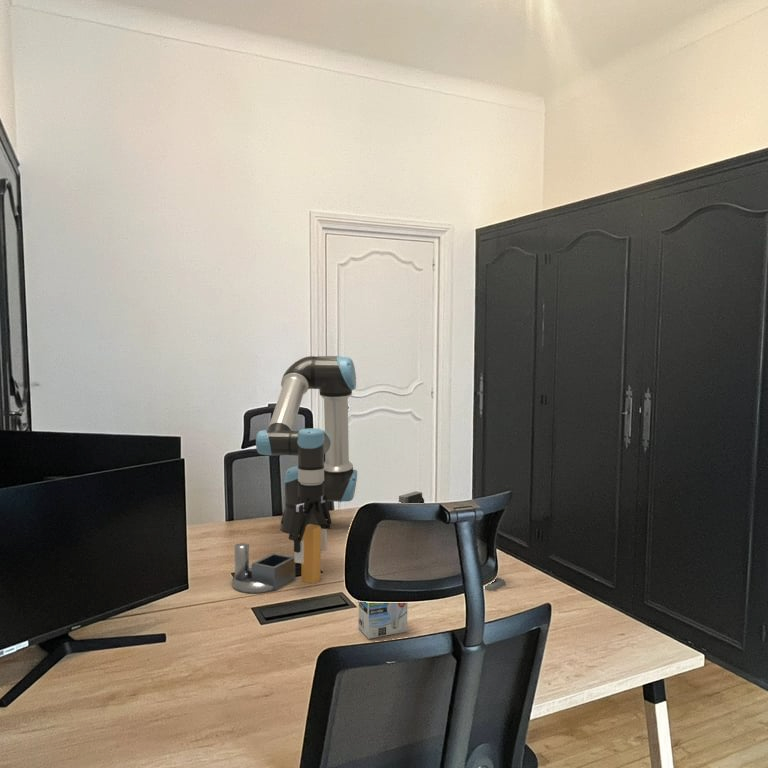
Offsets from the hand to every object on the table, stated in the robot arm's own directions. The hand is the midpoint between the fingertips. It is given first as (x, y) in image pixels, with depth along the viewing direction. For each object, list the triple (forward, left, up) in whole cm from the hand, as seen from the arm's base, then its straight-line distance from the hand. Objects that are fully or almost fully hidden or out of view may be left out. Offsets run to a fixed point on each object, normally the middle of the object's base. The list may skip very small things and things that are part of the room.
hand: (311, 556), depth 185 cm
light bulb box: (+18, +33, -7) cm, 38 cm away
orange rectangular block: (0, 0, -7) cm, 7 cm away
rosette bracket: (+9, -12, -7) cm, 17 cm away
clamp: (-26, +34, -7) cm, 43 cm away
